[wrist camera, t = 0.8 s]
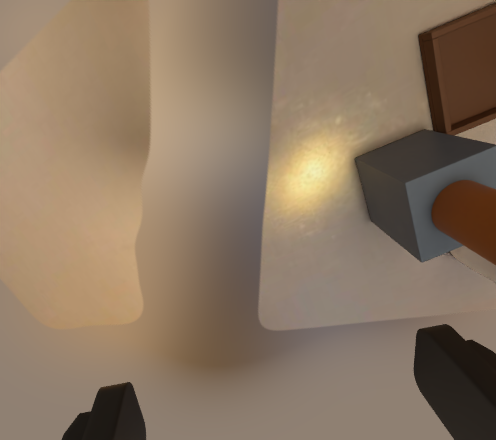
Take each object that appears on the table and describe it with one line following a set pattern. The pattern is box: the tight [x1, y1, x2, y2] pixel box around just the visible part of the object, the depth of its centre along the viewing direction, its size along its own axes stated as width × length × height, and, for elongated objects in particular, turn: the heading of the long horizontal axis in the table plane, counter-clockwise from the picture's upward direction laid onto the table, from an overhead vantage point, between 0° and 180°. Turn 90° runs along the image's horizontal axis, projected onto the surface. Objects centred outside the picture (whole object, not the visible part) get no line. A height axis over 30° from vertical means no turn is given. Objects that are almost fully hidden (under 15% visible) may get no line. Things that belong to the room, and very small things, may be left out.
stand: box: [355, 129, 496, 262], centre depth 34 cm, size 8×8×10 cm
